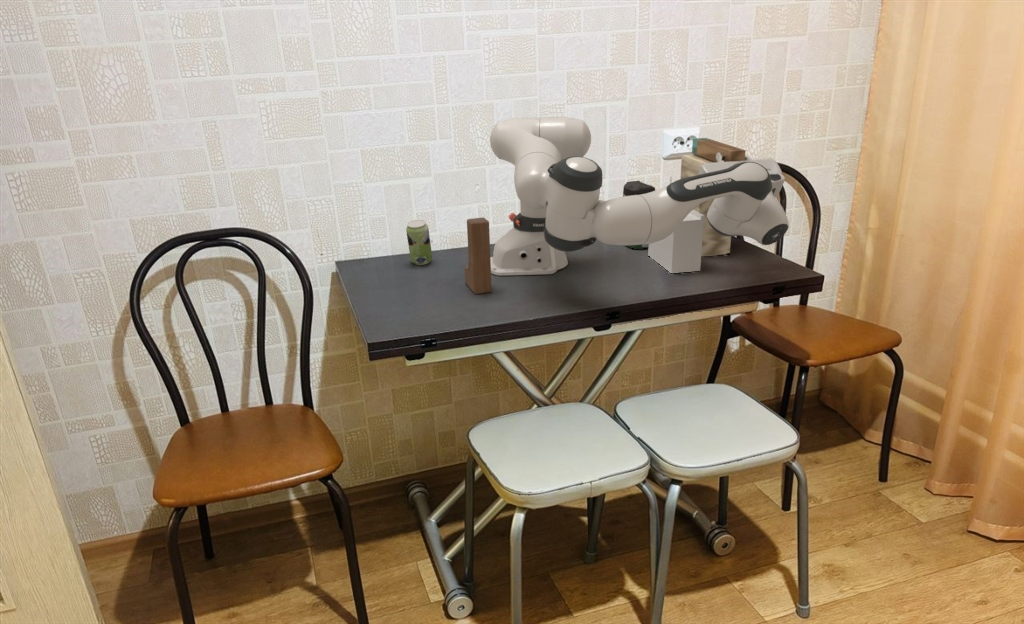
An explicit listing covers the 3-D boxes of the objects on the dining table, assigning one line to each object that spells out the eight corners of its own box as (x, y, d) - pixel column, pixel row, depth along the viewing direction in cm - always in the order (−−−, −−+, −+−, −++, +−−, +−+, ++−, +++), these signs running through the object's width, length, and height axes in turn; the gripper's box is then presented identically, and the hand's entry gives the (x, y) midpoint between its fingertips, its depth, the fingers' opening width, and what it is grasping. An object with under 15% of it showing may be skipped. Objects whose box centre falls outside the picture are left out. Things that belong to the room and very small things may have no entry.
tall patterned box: (695, 258, 206) (702, 163, 196) (676, 245, 218) (681, 155, 208) (729, 254, 208) (737, 161, 198) (708, 242, 220) (715, 152, 210)
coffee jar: (617, 242, 221) (618, 180, 214) (640, 239, 224) (643, 177, 217) (633, 251, 213) (635, 186, 206) (657, 248, 215) (660, 184, 208)
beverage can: (434, 259, 210) (431, 217, 206) (429, 267, 204) (426, 224, 199) (412, 259, 211) (409, 217, 207) (406, 267, 204) (403, 224, 200)
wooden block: (465, 283, 191) (461, 214, 184) (481, 281, 192) (479, 212, 186) (474, 294, 183) (471, 223, 177) (492, 292, 184) (489, 221, 178)
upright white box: (671, 274, 194) (674, 217, 188) (648, 256, 208) (650, 203, 203) (700, 271, 195) (704, 215, 190) (674, 254, 210) (678, 201, 204)
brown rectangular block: (729, 167, 188) (730, 151, 187) (691, 153, 209) (692, 138, 207) (744, 166, 189) (745, 150, 188) (705, 152, 209) (706, 137, 208)
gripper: (706, 202, 184) (687, 166, 193) (782, 196, 188) (760, 161, 197) (714, 183, 180) (694, 146, 188) (791, 177, 183) (768, 141, 192)
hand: (728, 153), depth 192 cm, fingers closed on brown rectangular block, 4 cm apart
